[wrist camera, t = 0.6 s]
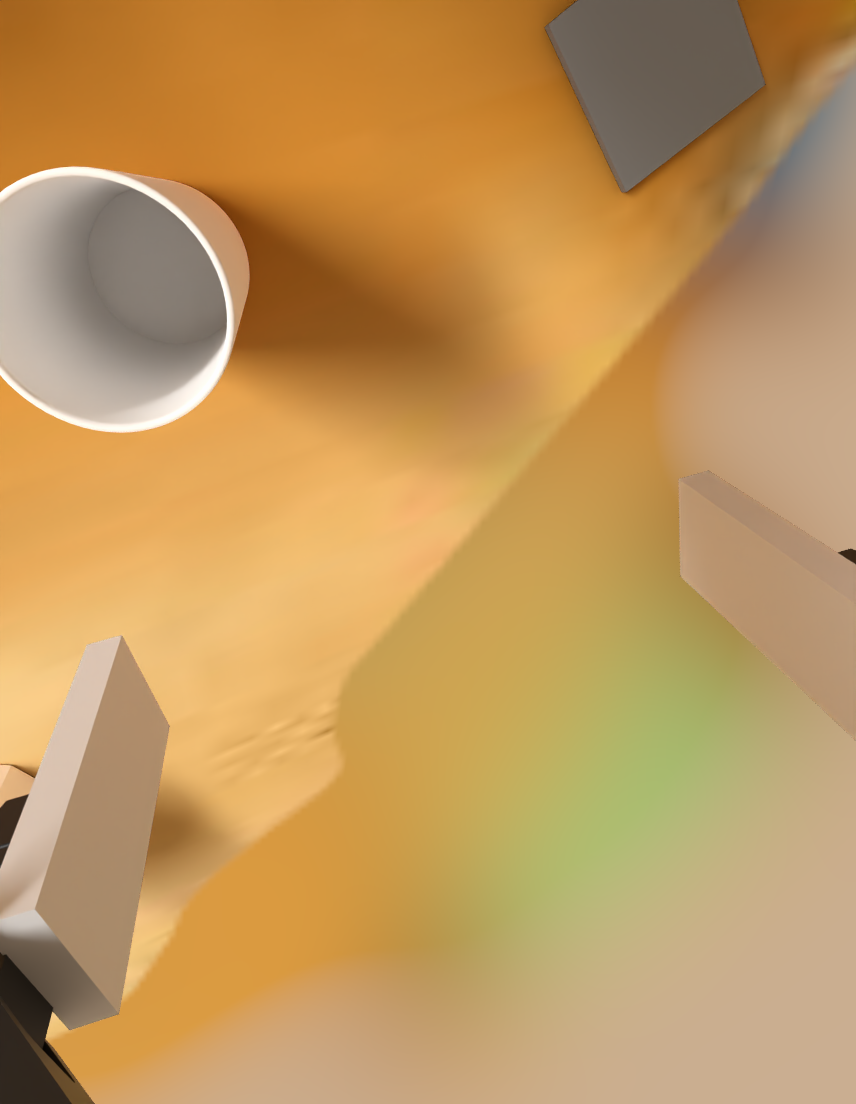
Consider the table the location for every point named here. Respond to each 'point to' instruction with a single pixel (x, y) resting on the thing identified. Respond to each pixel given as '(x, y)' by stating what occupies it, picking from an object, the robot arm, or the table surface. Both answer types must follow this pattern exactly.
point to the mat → (654, 74)
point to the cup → (116, 296)
